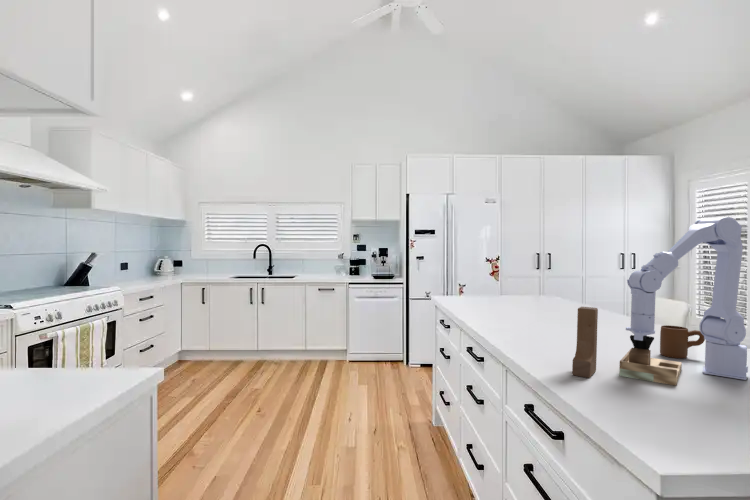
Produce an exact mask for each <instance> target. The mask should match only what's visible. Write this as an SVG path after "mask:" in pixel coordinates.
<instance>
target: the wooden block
mask: <svg viewBox="0 0 750 500" xmlns="http://www.w3.org/2000/svg"><path fill="white" fill-rule="evenodd" d="M598 314H599V310H598V307H592V306H591V307H590V306H579V307H578V308H577V316H576V317H577V322H576V323H577V324H576V347H575V348H576V349H575V354H574V357H573V359H572V370H571V371H572V376H574V377H575V376H576V377H582V378H585V379H590V378H591V377H592V376H593V375H594V374H595V372H596V371H597V355H598V354H597V351H598V350H597V349H598V319H599V318H598V317H599V316H598Z"/></svg>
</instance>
